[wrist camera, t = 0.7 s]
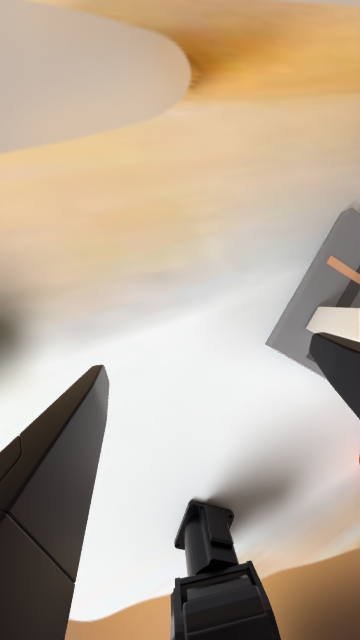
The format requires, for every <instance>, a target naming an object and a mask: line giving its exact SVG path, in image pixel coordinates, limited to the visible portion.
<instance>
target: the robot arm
mask: <svg viewBox="0 0 360 640" xmlns="http://www.w3.org/2000/svg"><path fill="white" fill-rule="evenodd" d="M309 353H310V355H311V356H312V358H313V359H314V361H315V362H316V364H317V365H318V367H319V368H320V370H321V371H322V373H323V374H324V375H325V377H326V378H327V380H328V381H329V383H330V384H331V385H332V386H333V388H334V389H335V390H336V391H337V393H338V394H339V395H340V396H341V397H342V399H343V400H344V401H345V402H346V403H347V405H348V406H349V407H350V408H351V409H352V411H353V412H354V413H355V414H356V415H357V417H358V418H359V419H360V342H357V341H354V340H350V339H347V338H343V337H340V336H336V335H333V334H329V333H326V332H319V333H314V334H313V335H312V338H311V342H310V346H309ZM108 395H109V379H108V376H107V373H106V370H105V367H104V365H96V366H92V367H91V368H90V369H89V370H88V371H87V372H86V373H85V374H84V375H83V376H81V377H80V378H79V379H78V380H77V381H76V382H75V383H74V384H73V385H72V386H71V387H70V388H69V389H68V390H66V391H65V392H64V393H63V394H62V395H61V396H60V397H59V398H58V399H57V400H56V401H55V402H54V403H53V404H51V405H50V406H49V407H48V408H47V409H46V410H45V411H44V412H43V413H42V414H41V415H40V416H39V417H38V418H36V419H35V420H34V421H33V422H32V423H31V424H30V425H29V426H28V427H27V428H26V429H25V430H24V431H23V432H21V433H20V436H17V437H16V438H15V439H14V440H13V441H12V442H11V443H10V444H9V445H7V446H6V447H5V448H4V449H3V450H2V451H1V452H0V640H64V639H65V634H66V629H67V624H68V619H69V613H70V608H71V603H72V598H73V593H74V588H75V584H74V583H75V581H76V576H77V571H78V566H79V561H80V556H81V551H82V545H83V540H84V535H85V530H86V525H87V520H88V515H89V509H90V504H91V499H92V494H93V489H94V484H95V478H96V473H97V468H98V463H99V458H100V453H101V447H102V442H103V437H104V432H105V427H106V421H107V409H108ZM191 506H193V507H191ZM233 518H234V514H233V512H232V511H231V510H227V509H222V508H218V507H214V506H210V505H205V504H201V503H197V502H190V503H189V504H188V506H187V509H186V512H185V514H184V517H183V520H182V522H181V525H180V528H179V530H178V533H177V536H176V538H175V542H174V544H175V547H176V548H178V549H183V550H185V554H186V563H187V573H188V577H185V578H180V577H179V578H175V588H174V592H173V593H172V594H171V640H281V638H280V634H279V631H278V627H277V623H276V620H275V617H274V613H273V611H272V607H271V605H270V602H269V599H268V597H267V595H266V593H265V590H264V588H263V586H262V583H261V581H260V579H259V577H258V575H257V572H256V570H255V568H254V566H253V563H252V561H247V563H243V564H239V563H238V559H237V556H236V553H235V549H234V546H233V544H234V543H233V539H232V536H231V533H230V530H229V529H230V526H231V524H232V521H233Z"/></svg>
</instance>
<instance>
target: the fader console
mask: <svg viewBox="0 0 360 640" xmlns="http://www.w3.org/2000/svg"><path fill="white" fill-rule="evenodd" d="M318 307H340V308H360V214H359V213H358V212H357V211H355V210H354V209H352V208H351V209H348V210H346V211H344V212H342V213H341V214H340V216H339V217H338V219H337V221H336V223H335V224H334V226H333V228H332V230H331V231H330V233H329V235H328V236H327V238H326V240H325V242H324V243H323V245H322V247H321V249H320V250H319V252H318V254H317V255H316V257H315V259H314V261H313V262H312V264H311V266H310V268H309V269H308V271H307V273H306V274H305V276H304V278H303V280H302V281H301V283H300V285H299V287H298V288H297V290H296V292H295V293H294V295H293V297H292V299H291V300H290V302H289V304H288V306H287V307H286V309H285V311H284V312H283V314H282V316H281V318H280V319H279V321H278V323H277V325H276V326H275V328H274V330H273V331H272V333H271V335H270V337H269V338H268V340H267V342H266V345H267V346H269V347H271V348H273V349H274V350H276V351H278V352H280V353H281V354H283V355H285V356H287V357H288V358H290V359H292V360H294V361H295V362H297V363H299V364H301V365H302V366H304V367H306V368H308V369H309V370H311V371H313V372H315V373H316V374H318V375H320V376H322V377H323V378H325V379H327V378H326V377H325V375H324V374H323V373H322V371H321V370H320V368H319V367H318V365H317V364H316V362H315V361H314V359H313V358H312V356H311V355H310V353H309V346H310V342H311V338H312V335H313V334H314V333H313V332H311V331H310V330H308V329H306V327H307V325H308V324H309V322H310V320H311V318H312V317H313V315H314V313H315V312H316V310H317V308H318Z"/></svg>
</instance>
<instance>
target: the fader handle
mask: <svg viewBox="0 0 360 640" xmlns="http://www.w3.org/2000/svg"><path fill="white" fill-rule="evenodd" d="M306 329H308V330H310V331H311V332H313V333H319V332H326V333H329V334H333V335H336V336H340V337H343V338H347V339H350V340H354V341H357V342H360V308H340V307H318V308H317V310H316V312H315V313H314V315H313V317H312V318H311V320H310V322H309V324H308V325H307V327H306Z"/></svg>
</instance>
